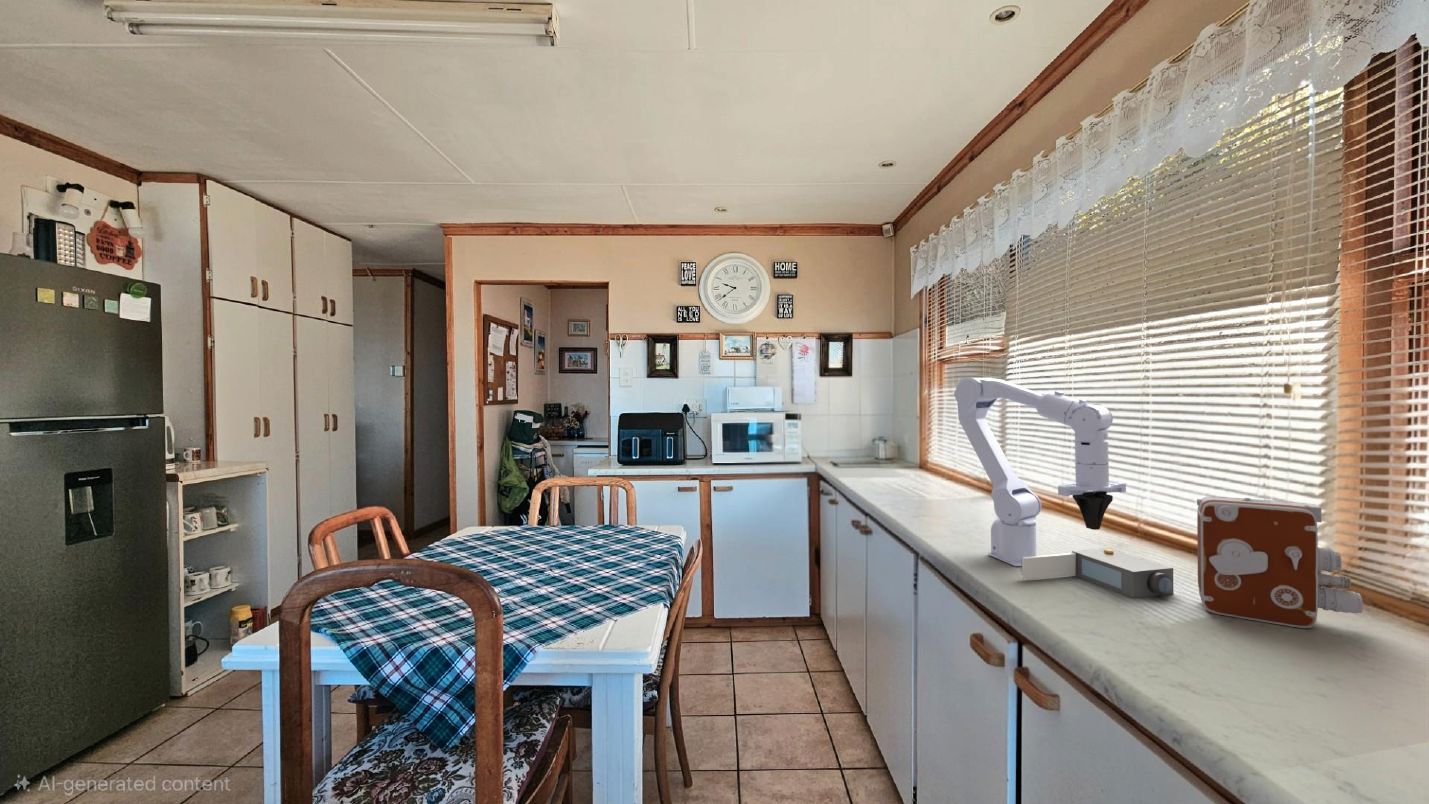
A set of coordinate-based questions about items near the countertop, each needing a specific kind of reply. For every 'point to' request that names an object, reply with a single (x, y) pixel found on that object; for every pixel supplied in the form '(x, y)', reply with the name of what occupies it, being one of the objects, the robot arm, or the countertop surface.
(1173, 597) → the countertop surface
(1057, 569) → the side door
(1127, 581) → the camera body
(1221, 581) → the cine camera
